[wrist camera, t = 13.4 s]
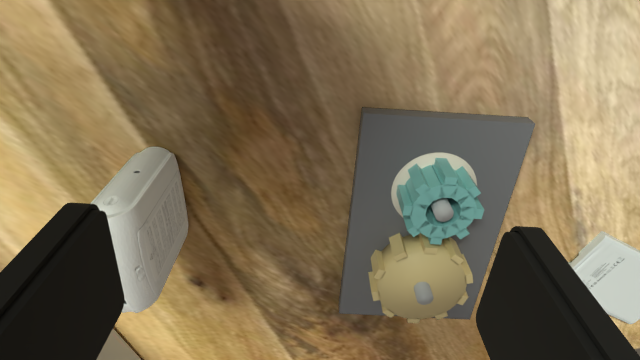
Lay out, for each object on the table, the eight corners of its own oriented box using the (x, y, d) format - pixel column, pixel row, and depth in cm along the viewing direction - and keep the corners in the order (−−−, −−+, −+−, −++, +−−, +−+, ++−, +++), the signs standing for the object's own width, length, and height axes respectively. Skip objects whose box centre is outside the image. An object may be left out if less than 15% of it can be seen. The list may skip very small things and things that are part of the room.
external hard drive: (622, 315, 52) (544, 278, 49) (679, 269, 48) (598, 227, 45) (631, 326, 50) (551, 289, 47) (690, 279, 47) (607, 236, 44)
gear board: (362, 107, 38) (368, 134, 33) (527, 117, 38) (560, 145, 33) (338, 303, 50) (340, 346, 45) (465, 309, 50) (482, 352, 45)
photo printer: (131, 144, 40) (61, 221, 29) (177, 144, 40) (124, 220, 29) (153, 233, 45) (100, 327, 34) (194, 233, 45) (154, 327, 34)
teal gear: (402, 155, 39) (410, 175, 35) (479, 160, 39) (493, 179, 36) (391, 219, 42) (397, 242, 39) (462, 223, 42) (473, 246, 39)
